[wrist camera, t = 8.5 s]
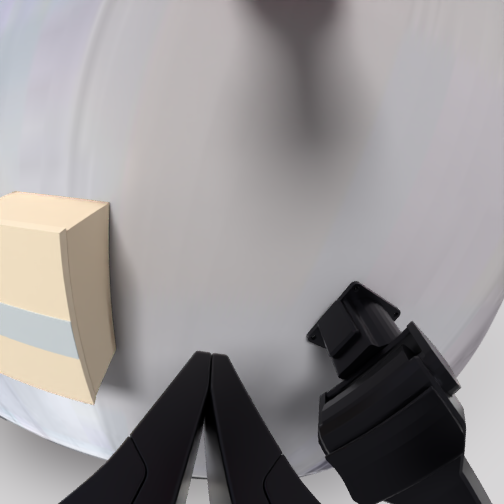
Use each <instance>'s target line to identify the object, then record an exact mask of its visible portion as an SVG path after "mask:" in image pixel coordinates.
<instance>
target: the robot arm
mask: <svg viewBox="0 0 504 504" xmlns="http://www.w3.org/2000/svg"><path fill="white" fill-rule="evenodd" d="M355 287H357V288H356V289H354V288H355ZM394 313H395V314H394ZM399 315H400V310H399V309H398V308H397V307H395V306H394V305H392V304H391V303H389V302H388V301H386V300H385V299H383V298H382V297H381V296H379V295H377V294H376V293H374V292H373V291H371V290H370V289H368V288H367V287H365V286H364V285H362V284H361V283H359V282H357V281H354V282H352V283H351V284H350V285H349V286H348V288H347V289H346V290H345V291H344V292H343V294H342V295H341V296H340V297H339V298H338V300H337V301H335V302H334V304H333V305H332V306H331V307H330V308H329V309H328V311H327V312H326V313H325V314H324V315H323V316H322V317H321V319H320V320H319V321H318V323H317V324H316V325H315V326H314V327H313V328H312V329H311V330H310V331H309V333H308V334H307V338H308V340H309V341H310V342H312V343H314V344H316V345H319V346H321V347H323V348H325V349H327V351H328V354H329V356H330V357H331V359H332V361H333V364H334V367H335V369H336V372H337V375H338V377H339V378H341V379H342V382H341V383H340V384H338V385H337V386H336V387H334V388H333V389H331V390H330V391H329V392H325V393H324V394H322V395H321V396H320V404H319V423H318V439H319V444H320V446H321V448H322V450H323V452H324V453H325V455H326V456H325V458H326V460H327V461H328V462H329V463H330V464H331V465H332V466H333V467H334V468H335V469H336V471H337V472H338V474H339V475H340V476H341V478H342V479H343V481H344V483H345V485H346V487H347V489H348V491H349V493H350V495H351V497H352V499H353V500H354V501H355V502H357V503H358V504H377V503H379V502H381V501H384V502H387V503H390V504H492V503H491V501H490V499H489V497H488V496H487V494H486V492H485V490H484V488H483V487H482V485H481V483H480V481H479V480H478V478H477V476H476V475H475V473H474V471H473V470H472V468H471V467H470V465H469V463H468V462H467V460H466V458H465V456H464V451H465V437H466V423H465V416H464V409H463V407H462V405H461V404H460V402H459V401H458V399H457V397H456V396H455V393H456V392H457V391H458V390H459V389H460V388H461V386H460V384H459V382H458V380H457V379H456V377H455V375H454V373H453V371H452V370H451V368H450V366H449V365H448V363H447V362H446V360H445V359H444V358H443V356H442V355H441V354H440V352H439V351H438V350H437V349H436V347H435V346H434V345H433V344H432V342H431V341H430V340H429V339H428V338H427V337H426V336H425V335H424V333H423V332H422V331H421V330H420V329H419V328H418V327H417V326H416V325H415V323H414V322H413V321H411V322H410V323H409V324H408V325H407V328H406V329H405V330H404V331H403V332H402V333H401V331H400V330H399V328H398V327H397V325H396V324H395V323H394V321H395V320H396V319H397V318H398V317H399ZM314 335H315V336H314ZM312 336H314V337H312ZM203 424H204V440H205V454H206V467H207V479H208V490H209V500H210V504H321V503H320V502H319V501H318V500H317V499H316V498H315V497H314V496H313V494H312V493H311V492H310V491H309V490H308V488H307V487H306V486H305V485H304V484H303V483H302V481H301V480H300V479H299V477H298V475H297V474H296V473H295V471H294V470H293V468H292V467H291V465H290V464H289V462H288V461H287V459H286V457H285V456H284V455H283V454H282V451H281V450H280V448H279V446H278V445H277V443H276V441H275V440H274V438H273V436H272V435H271V433H270V431H269V430H268V428H267V426H266V425H265V423H264V421H263V419H262V418H261V416H260V414H259V412H258V411H257V409H256V407H255V405H254V404H253V402H252V400H251V398H250V396H249V395H248V393H247V391H246V389H245V387H244V386H243V384H242V382H241V380H240V378H239V376H238V374H237V372H236V371H235V369H234V367H233V365H232V363H231V361H230V359H229V357H228V356H227V355H224V354H217V353H213V354H212V356H211V353H209V352H203V351H196V352H195V353H194V354H193V356H192V357H191V358H190V359H189V361H188V362H187V363H186V365H185V366H184V367H183V368H182V370H181V371H180V372H179V374H178V375H177V376H176V377H175V379H174V380H173V381H172V382H171V384H170V385H169V386H168V388H167V389H166V390H165V391H164V393H163V394H162V395H161V396H160V398H159V399H158V400H157V401H156V403H155V404H154V405H153V406H152V408H151V409H150V410H149V411H148V413H147V414H146V415H145V416H144V418H143V419H142V420H141V421H140V423H139V424H138V425H137V426H136V428H135V429H134V430H133V431H132V433H131V434H130V437H127V439H126V440H125V441H124V442H123V443H122V445H121V446H120V447H119V448H118V449H117V451H116V452H115V453H114V454H113V455H112V456H111V457H110V458H109V460H108V461H107V462H106V463H105V464H104V465H103V466H101V467H100V468H99V470H97V472H95V473H94V474H93V475H92V476H91V477H90V478H88V479H87V480H86V481H85V482H84V483H83V484H81V485H80V486H79V487H78V488H77V489H76V490H74V491H73V492H72V493H71V494H69V495H68V496H67V497H66V498H65V499H63V500H62V501H61V502H60V503H58V504H185V503H186V499H187V495H188V490H189V486H190V481H191V477H192V473H193V469H194V464H195V460H196V456H197V451H198V447H199V443H200V439H201V434H202V429H203ZM281 454H282V455H281Z"/></svg>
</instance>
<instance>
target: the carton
mask: <svg viewBox="0 0 504 504" xmlns="http://www.w3.org/2000/svg"><path fill="white" fill-rule="evenodd" d="M0 219H4V220H12V221H19V222H27V223H34V224H42V225H49V226H57V227H64V228H66V238H67V253H68V264H69V274H70V282H71V290H72V297H73V303H74V309H75V315H76V320H77V326H78V331H79V335H80V340H81V344H82V349H83V353H84V357H85V361H86V365H87V368H88V372H89V376H90V379H91V383H92V386H93V389H94V392H95V395H97V392H98V390H99V387H100V385H101V383H102V380H103V378H104V376H105V373H106V371H107V369H108V366H109V364H110V362H111V360H112V358H113V355H114V353H115V351H116V344H115V336H114V327H113V318H112V307H111V293H110V276H109V202H101V201H94V200H86V199H78V198H70V197H61V196H53V195H44V194H35V193H26V192H17V191H15V192H12V193H10V194H7V195H5V196H3V197H0Z"/></svg>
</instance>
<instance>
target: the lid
mask: <svg viewBox="0 0 504 504" xmlns="http://www.w3.org/2000/svg"><path fill="white" fill-rule="evenodd" d="M0 373H1V374H4V375H6V376H8V377H11V378H13V379H15V380H18V381H20V382H23V383H25V384H28V385H31V386H33V387H36V388H39V389H42V390H44V391H47V392H50V393H53V394H56V395H60V396H63V397H66V398H69V399H73V400H76V401H80V402H84V403H87V404H91V405H94V404H95V400H96V395H95V392H94V389H93V386H92V383H91V379H90V376H89V372H88V368H87V365H86V361H85V357H84V353H83V349H82V344H81V340H80V335H79V331H78V326H77V320H76V315H75V309H74V303H73V297H72V290H71V282H70V274H69V264H68V253H67V238H66V228H64V227H57V226H49V225H42V224H34V223H27V222H19V221H12V220H4V219H0Z"/></svg>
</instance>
